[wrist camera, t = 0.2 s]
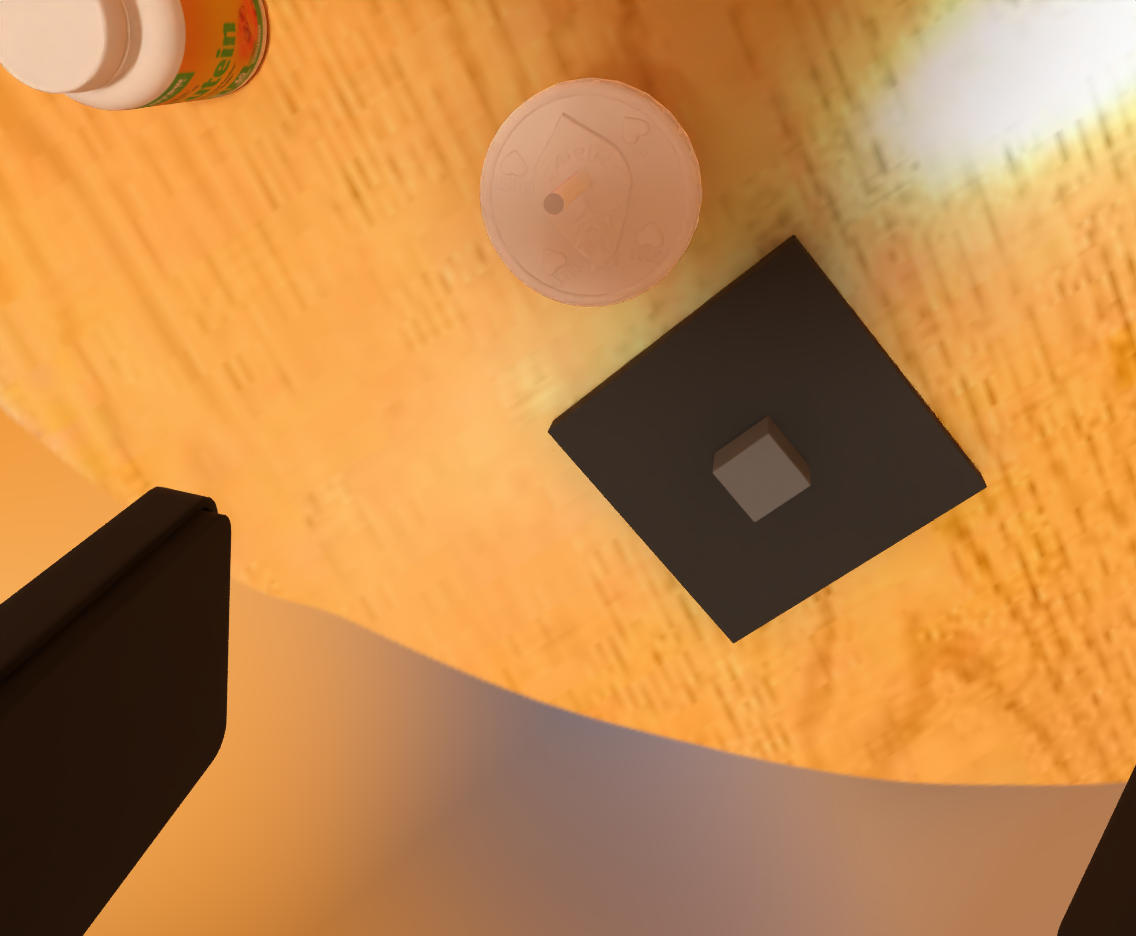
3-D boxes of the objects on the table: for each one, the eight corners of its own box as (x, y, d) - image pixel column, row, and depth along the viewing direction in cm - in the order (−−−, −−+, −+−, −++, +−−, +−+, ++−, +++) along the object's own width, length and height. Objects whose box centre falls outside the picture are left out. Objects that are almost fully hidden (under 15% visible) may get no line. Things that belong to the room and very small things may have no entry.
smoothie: (691, 42, 37) (653, 53, 24) (732, 222, 39) (717, 320, 26) (519, 94, 39) (398, 131, 26) (568, 264, 41) (479, 375, 28)
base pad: (794, 234, 39) (796, 251, 36) (981, 474, 41) (998, 509, 38) (552, 421, 43) (537, 450, 40) (733, 629, 46) (732, 670, 43)
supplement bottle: (228, 127, 41) (80, 157, 32) (111, 36, 40) (-72, 40, 31) (297, 5, 39) (159, 2, 30) (175, -93, 38) (-3, -127, 29)
